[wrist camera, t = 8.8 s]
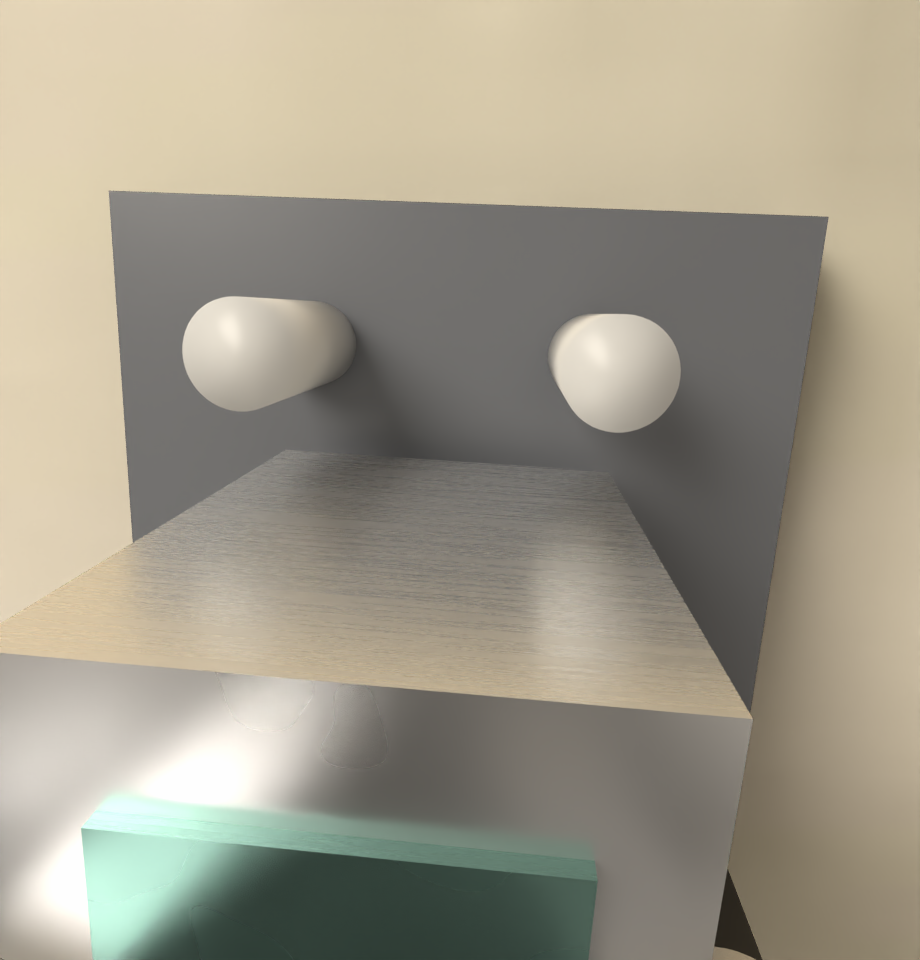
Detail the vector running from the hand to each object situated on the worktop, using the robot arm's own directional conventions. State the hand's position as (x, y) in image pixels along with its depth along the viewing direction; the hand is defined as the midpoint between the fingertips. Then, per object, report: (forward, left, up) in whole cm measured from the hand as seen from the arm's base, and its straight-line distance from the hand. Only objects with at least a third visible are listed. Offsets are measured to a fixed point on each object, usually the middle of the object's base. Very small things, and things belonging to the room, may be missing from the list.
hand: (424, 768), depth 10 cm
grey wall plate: (0, 0, -3) cm, 3 cm away
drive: (0, 0, -1) cm, 1 cm away
